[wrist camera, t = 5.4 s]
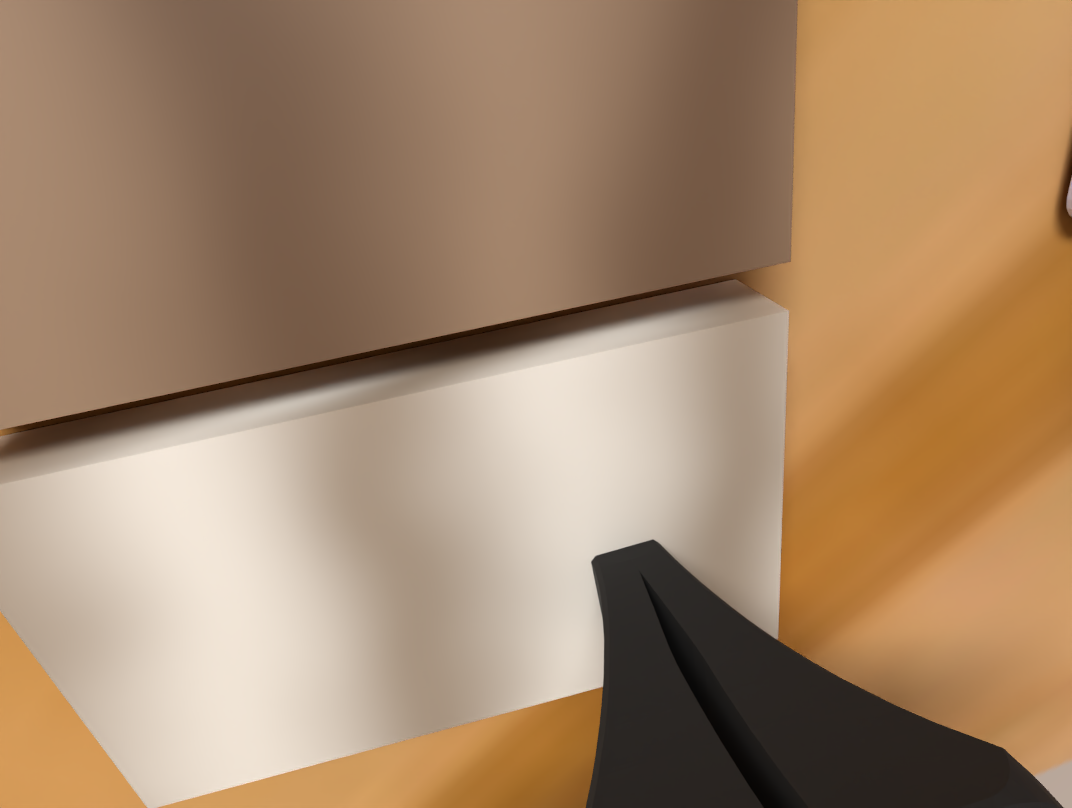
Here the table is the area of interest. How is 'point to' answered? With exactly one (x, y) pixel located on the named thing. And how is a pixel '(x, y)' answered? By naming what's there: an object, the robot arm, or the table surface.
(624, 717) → the robot arm
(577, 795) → the table surface
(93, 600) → the ash plank
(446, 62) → the walnut planks
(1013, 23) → the table surface
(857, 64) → the table surface
